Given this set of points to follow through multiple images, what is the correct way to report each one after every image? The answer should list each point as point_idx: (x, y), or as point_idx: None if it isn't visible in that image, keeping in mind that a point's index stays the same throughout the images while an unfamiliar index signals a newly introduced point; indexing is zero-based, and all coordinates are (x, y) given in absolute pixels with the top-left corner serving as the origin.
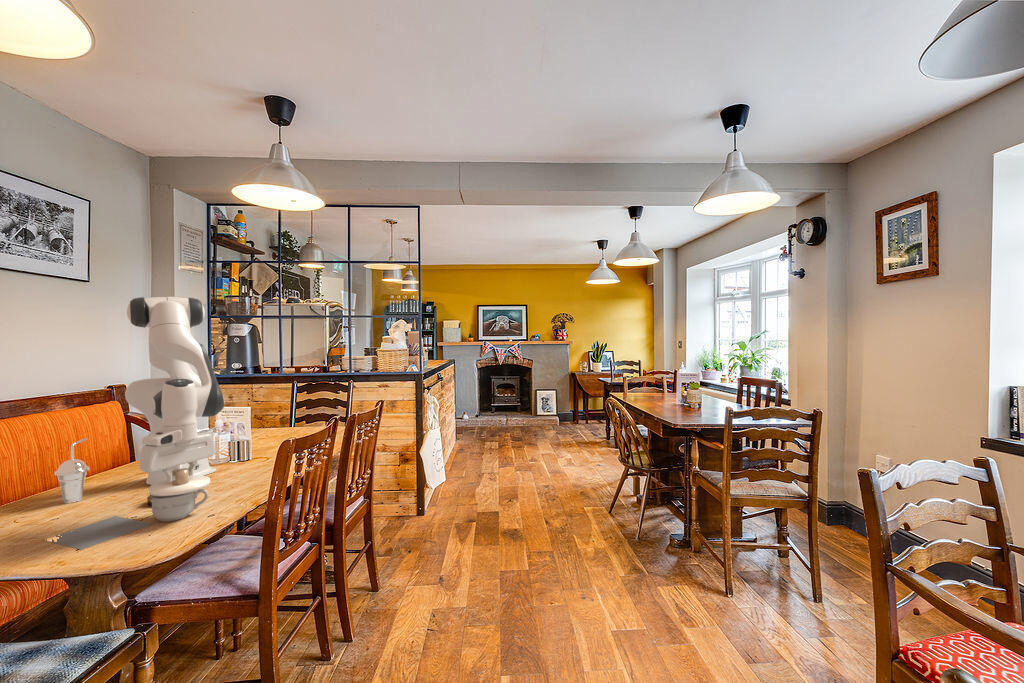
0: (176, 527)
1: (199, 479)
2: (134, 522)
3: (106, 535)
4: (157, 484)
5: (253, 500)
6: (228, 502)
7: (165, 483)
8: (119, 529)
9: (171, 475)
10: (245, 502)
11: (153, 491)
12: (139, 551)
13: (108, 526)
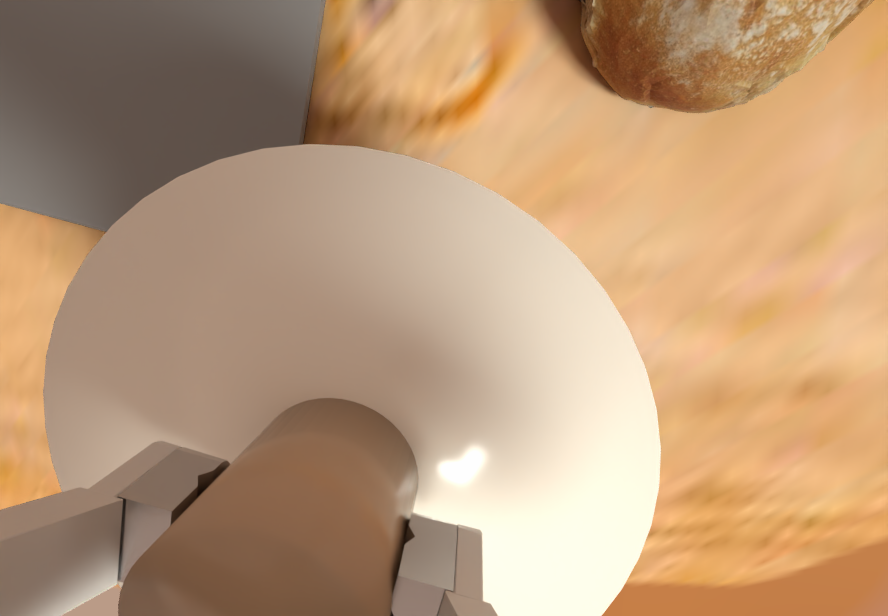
0: None
1: (497, 582)
2: (269, 132)
3: (86, 143)
4: (243, 223)
5: (699, 577)
6: (668, 457)
7: (302, 295)
8: (165, 139)
9: (81, 592)
10: (664, 552)
11: (47, 387)
12: (39, 457)
13: (184, 5)
